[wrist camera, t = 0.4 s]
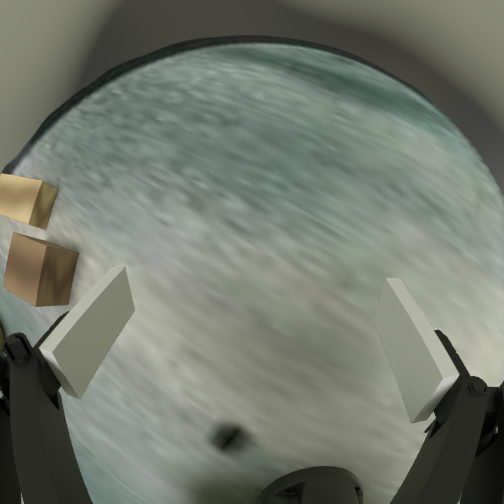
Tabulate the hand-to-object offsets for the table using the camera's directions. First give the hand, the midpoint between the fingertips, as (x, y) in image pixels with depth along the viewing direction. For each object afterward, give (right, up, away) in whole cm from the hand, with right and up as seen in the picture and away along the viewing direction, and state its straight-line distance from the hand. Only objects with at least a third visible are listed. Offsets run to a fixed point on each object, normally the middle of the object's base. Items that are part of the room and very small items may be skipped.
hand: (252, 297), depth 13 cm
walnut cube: (-27, 0, +17) cm, 32 cm away
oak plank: (-34, +10, +18) cm, 40 cm away
